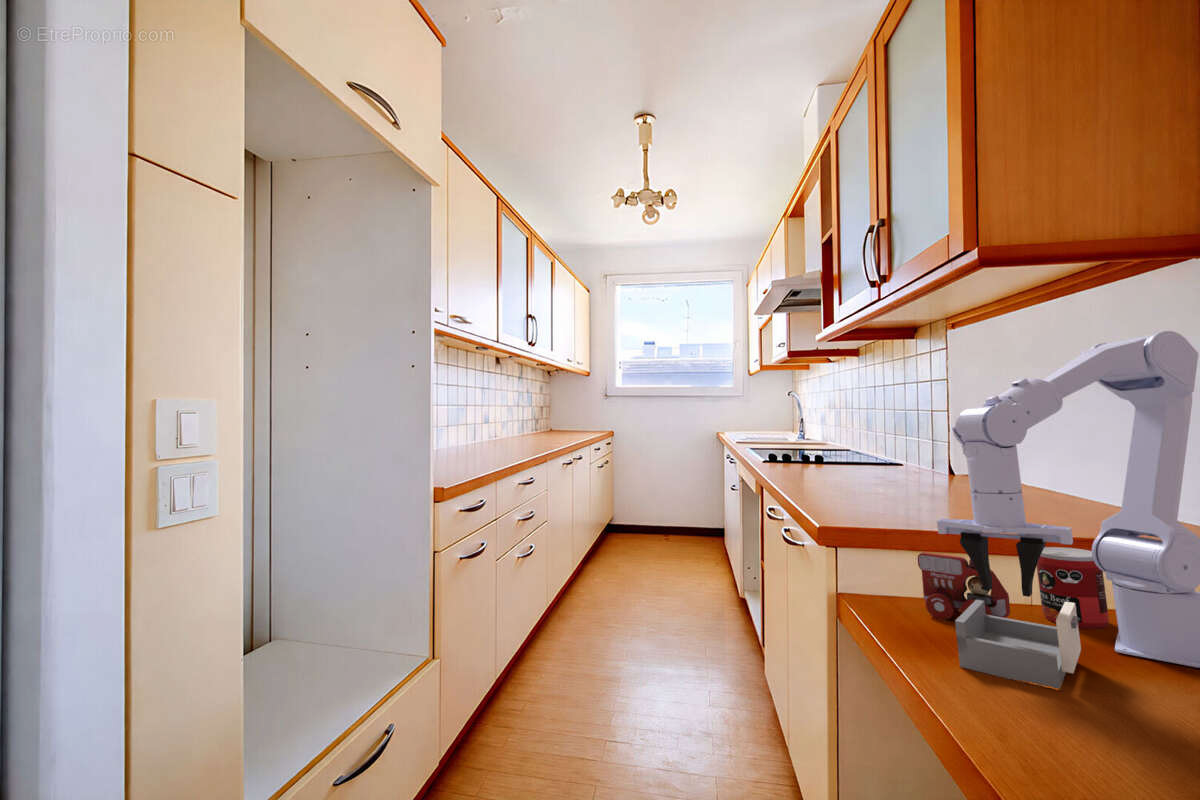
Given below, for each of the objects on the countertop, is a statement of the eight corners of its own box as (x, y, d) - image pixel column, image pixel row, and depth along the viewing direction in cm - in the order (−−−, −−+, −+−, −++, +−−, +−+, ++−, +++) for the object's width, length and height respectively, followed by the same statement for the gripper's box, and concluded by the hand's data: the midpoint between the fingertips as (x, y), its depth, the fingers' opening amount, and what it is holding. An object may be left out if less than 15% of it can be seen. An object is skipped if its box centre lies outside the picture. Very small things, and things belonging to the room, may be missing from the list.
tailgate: (1085, 650, 66) (1079, 603, 67) (1077, 674, 60) (1071, 622, 61) (1070, 647, 67) (1065, 601, 68) (1062, 671, 61) (1055, 620, 62)
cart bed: (1070, 659, 68) (1065, 613, 69) (1059, 691, 60) (1053, 639, 61) (980, 640, 76) (976, 599, 76) (960, 666, 68) (955, 620, 68)
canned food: (1030, 613, 85) (1022, 547, 86) (1079, 612, 85) (1070, 545, 86) (1071, 630, 78) (1061, 558, 79) (1124, 628, 77) (1114, 555, 78)
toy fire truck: (1006, 633, 78) (997, 565, 79) (916, 615, 87) (910, 554, 88) (1016, 621, 82) (1008, 556, 83) (930, 605, 92) (923, 547, 93)
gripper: (927, 492, 73) (937, 588, 71) (1062, 496, 62) (1076, 610, 61) (941, 487, 77) (950, 578, 76) (1068, 491, 67) (1082, 596, 65)
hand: (1007, 591), depth 69 cm, fingers open, 4 cm apart
